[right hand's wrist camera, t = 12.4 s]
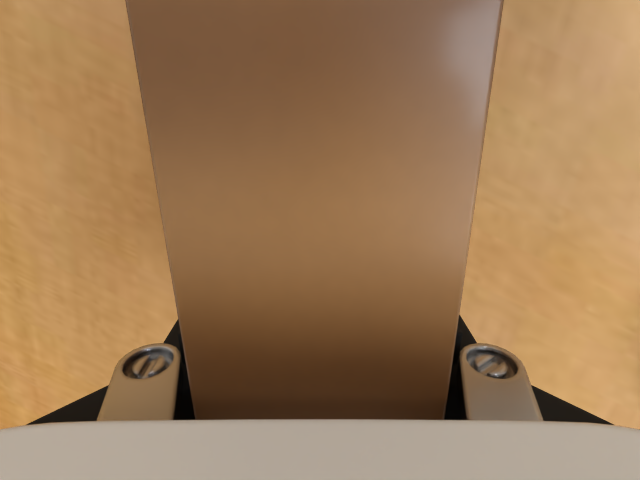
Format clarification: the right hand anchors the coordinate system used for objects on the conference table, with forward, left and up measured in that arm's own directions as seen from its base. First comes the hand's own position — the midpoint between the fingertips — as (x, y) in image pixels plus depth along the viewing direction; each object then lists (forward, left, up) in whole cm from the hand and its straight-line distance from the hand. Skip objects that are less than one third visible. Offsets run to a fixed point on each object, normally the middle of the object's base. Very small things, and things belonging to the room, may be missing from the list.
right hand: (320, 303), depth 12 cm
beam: (+28, -6, -3) cm, 29 cm away
